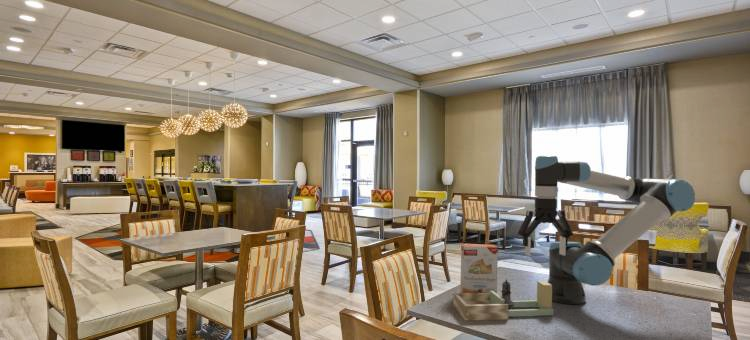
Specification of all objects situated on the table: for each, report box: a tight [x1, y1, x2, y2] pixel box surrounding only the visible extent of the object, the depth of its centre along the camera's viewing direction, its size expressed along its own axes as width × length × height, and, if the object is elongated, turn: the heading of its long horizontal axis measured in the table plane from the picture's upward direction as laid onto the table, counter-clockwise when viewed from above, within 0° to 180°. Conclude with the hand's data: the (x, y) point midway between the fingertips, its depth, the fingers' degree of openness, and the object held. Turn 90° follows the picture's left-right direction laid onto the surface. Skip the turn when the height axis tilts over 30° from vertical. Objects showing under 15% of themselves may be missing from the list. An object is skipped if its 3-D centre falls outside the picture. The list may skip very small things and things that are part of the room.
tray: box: [490, 280, 554, 317], centre depth 144 cm, size 20×10×10 cm, turn 96°
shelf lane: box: [453, 293, 509, 321], centre depth 143 cm, size 15×13×5 cm
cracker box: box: [459, 243, 499, 294], centre depth 162 cm, size 14×6×21 cm, turn 88°
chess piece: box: [500, 278, 515, 310], centre depth 144 cm, size 6×6×12 cm
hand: (545, 255), depth 145 cm, fingers open, 13 cm apart
